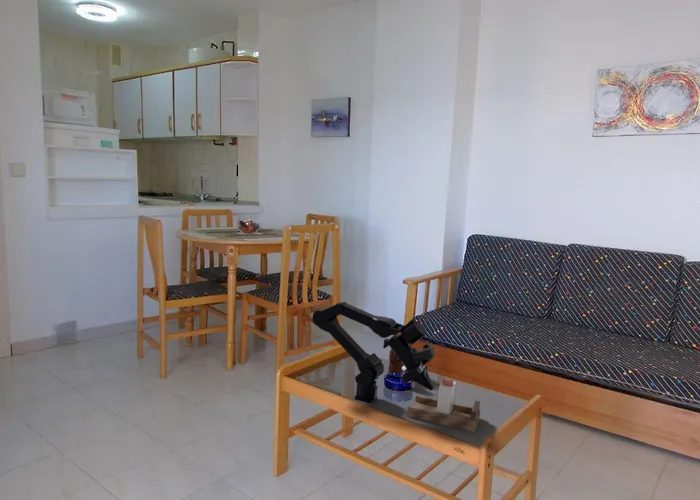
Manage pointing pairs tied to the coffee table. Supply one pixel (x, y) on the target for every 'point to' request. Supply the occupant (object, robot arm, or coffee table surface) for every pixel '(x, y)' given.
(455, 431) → the coffee table surface
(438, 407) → the white carton
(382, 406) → the coffee table surface
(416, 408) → the wooden tray
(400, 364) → the wooden figurine
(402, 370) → the pill bottle
